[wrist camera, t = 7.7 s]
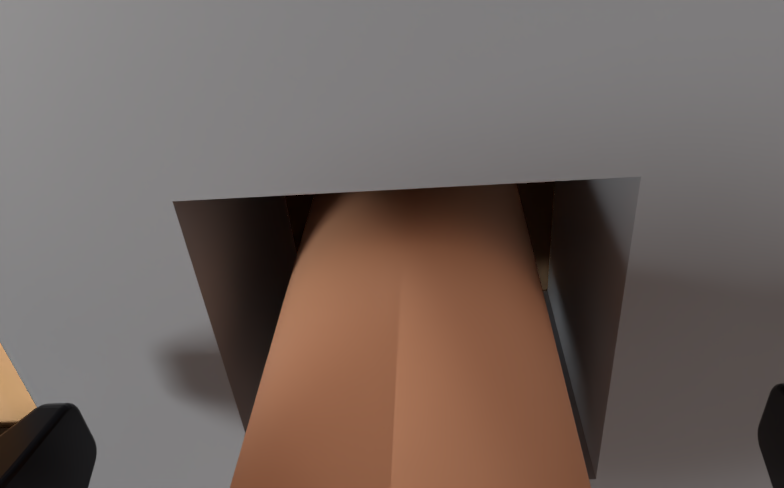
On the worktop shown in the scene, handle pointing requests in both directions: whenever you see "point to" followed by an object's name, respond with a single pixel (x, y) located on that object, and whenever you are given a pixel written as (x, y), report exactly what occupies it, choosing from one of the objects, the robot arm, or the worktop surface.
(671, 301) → the socket block
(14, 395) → the worktop surface
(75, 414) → the robot arm
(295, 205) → the worktop surface
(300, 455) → the dowel
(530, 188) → the worktop surface
